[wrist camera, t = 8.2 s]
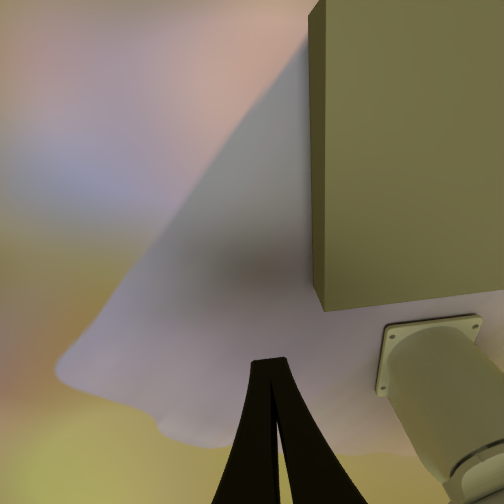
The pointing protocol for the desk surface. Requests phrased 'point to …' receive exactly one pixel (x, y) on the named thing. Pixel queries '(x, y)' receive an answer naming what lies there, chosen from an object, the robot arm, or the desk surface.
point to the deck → (406, 149)
